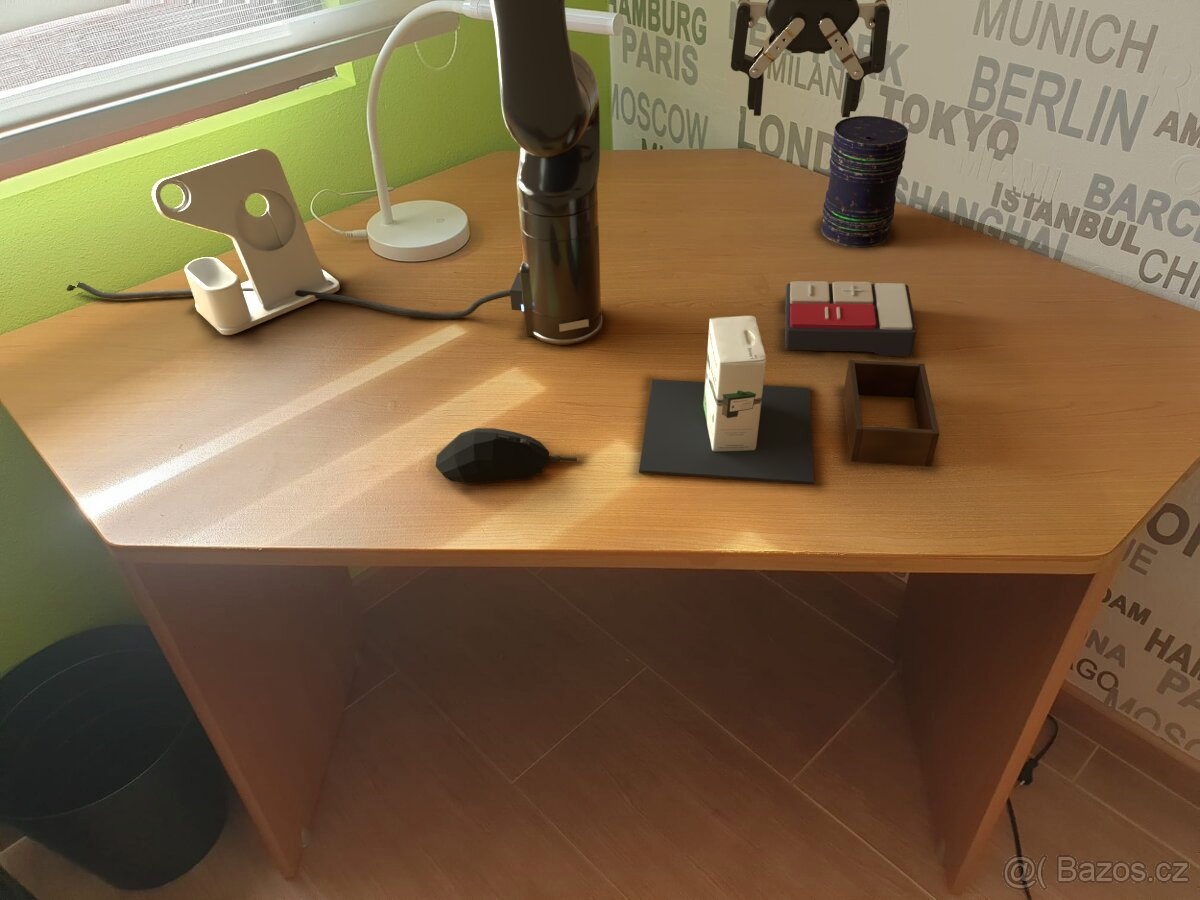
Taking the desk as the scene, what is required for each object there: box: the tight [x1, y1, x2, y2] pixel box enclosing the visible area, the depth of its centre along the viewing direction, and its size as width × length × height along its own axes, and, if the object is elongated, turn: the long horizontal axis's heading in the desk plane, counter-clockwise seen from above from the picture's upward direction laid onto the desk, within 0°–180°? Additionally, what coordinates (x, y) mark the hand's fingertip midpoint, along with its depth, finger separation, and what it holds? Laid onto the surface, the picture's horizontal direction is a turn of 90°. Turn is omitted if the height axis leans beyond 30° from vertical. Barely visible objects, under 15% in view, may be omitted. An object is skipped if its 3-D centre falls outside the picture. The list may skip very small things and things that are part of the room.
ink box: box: [703, 315, 767, 451], centre depth 100 cm, size 9×5×12 cm, turn 2°
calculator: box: [784, 280, 917, 357], centre depth 117 cm, size 11×4×15 cm
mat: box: [638, 378, 816, 485], centre depth 104 cm, size 18×16×1 cm
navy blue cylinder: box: [820, 115, 909, 248], centre depth 133 cm, size 10×10×15 cm
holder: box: [842, 359, 941, 467], centre depth 103 cm, size 8×12×4 cm
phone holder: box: [151, 148, 341, 336], centre depth 122 cm, size 17×10×18 cm, turn 131°
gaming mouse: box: [435, 427, 578, 485], centre depth 100 cm, size 6×15×4 cm, turn 93°
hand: (800, 113), depth 94 cm, fingers open, 8 cm apart
